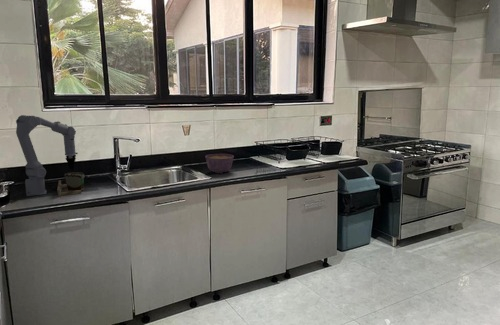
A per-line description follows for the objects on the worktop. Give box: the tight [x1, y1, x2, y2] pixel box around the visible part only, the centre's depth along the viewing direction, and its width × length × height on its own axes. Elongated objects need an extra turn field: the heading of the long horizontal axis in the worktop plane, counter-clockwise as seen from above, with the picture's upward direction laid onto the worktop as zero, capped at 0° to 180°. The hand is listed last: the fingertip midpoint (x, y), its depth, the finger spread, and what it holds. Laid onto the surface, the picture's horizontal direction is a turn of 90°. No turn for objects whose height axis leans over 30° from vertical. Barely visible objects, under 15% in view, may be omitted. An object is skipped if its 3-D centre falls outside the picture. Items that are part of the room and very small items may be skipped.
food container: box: [63, 171, 85, 193], centre depth 218 cm, size 12×6×10 cm, turn 74°
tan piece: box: [56, 179, 82, 198], centre depth 217 cm, size 12×24×4 cm, turn 25°
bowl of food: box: [204, 153, 235, 174], centre depth 263 cm, size 20×20×12 cm
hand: (71, 167), depth 229 cm, fingers open, 7 cm apart
